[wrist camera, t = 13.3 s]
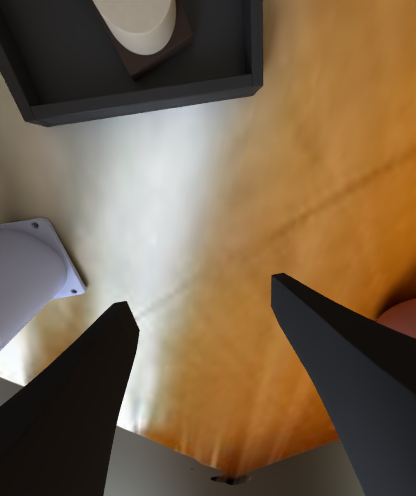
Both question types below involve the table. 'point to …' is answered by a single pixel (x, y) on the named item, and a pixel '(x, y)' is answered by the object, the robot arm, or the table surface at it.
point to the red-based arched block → (145, 31)
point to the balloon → (401, 318)
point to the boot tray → (112, 67)
